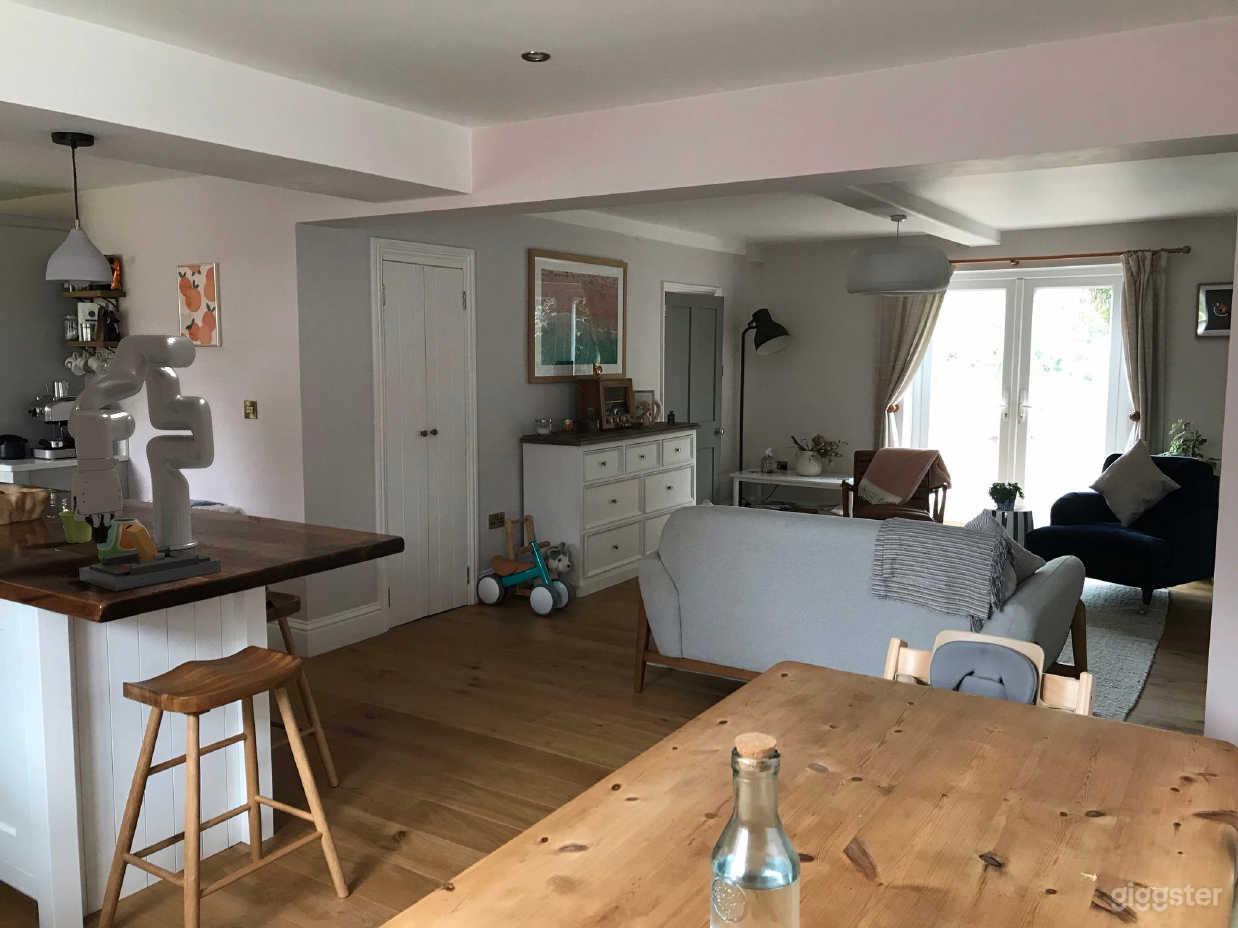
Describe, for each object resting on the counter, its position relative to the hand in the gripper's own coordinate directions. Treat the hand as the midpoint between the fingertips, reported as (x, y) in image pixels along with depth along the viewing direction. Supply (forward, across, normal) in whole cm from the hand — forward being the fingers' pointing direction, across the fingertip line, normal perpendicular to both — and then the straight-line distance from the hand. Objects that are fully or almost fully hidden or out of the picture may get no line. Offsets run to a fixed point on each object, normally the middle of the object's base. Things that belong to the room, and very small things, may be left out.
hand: (100, 542), depth 231 cm
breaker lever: (+6, -12, 0) cm, 13 cm away
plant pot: (+10, -21, -60) cm, 64 cm away
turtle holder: (+10, -14, -19) cm, 26 cm away
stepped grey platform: (+7, -12, 0) cm, 14 cm away
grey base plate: (+10, -12, 0) cm, 15 cm away
